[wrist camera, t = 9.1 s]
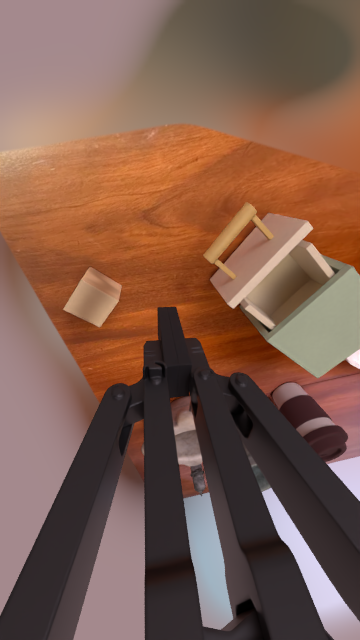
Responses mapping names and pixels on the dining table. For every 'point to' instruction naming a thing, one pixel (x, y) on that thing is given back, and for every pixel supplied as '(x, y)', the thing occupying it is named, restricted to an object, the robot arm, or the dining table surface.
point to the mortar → (184, 433)
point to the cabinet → (321, 323)
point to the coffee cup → (310, 421)
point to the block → (94, 297)
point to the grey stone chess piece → (198, 478)
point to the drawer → (268, 266)
